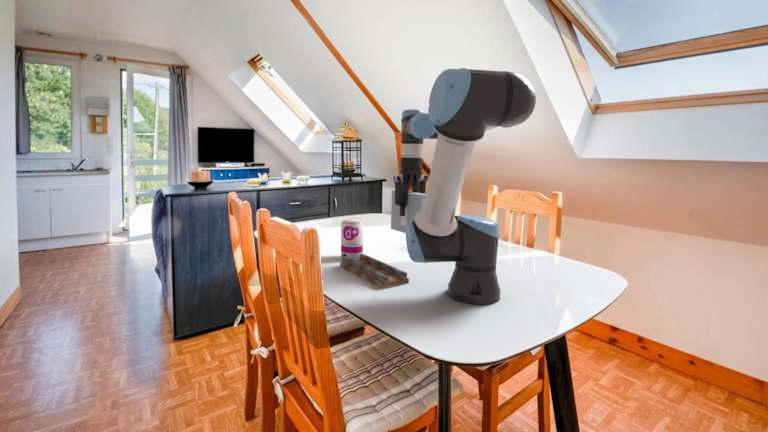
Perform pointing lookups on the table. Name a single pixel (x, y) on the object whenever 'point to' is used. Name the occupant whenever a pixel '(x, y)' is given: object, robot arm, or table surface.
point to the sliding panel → (413, 204)
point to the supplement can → (352, 238)
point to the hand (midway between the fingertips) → (409, 224)
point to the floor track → (375, 271)
